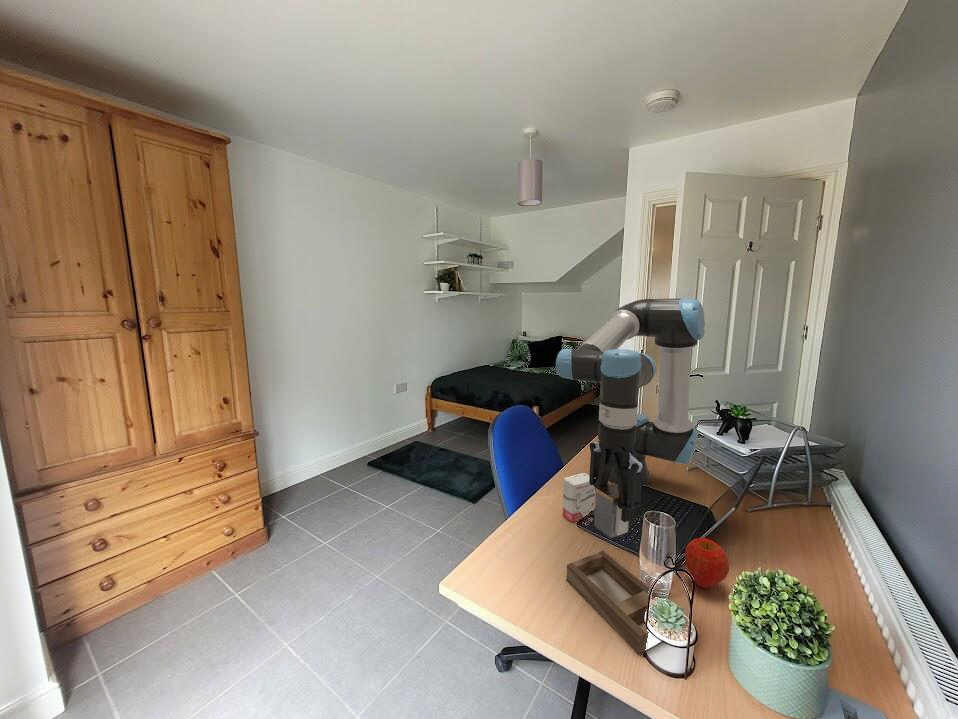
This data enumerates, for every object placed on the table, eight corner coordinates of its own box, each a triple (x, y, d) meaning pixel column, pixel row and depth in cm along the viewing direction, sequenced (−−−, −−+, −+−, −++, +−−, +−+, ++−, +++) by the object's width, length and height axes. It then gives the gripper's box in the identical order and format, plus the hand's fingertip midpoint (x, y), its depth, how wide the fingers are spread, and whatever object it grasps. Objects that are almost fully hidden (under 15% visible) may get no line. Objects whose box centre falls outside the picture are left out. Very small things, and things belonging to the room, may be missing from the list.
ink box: (572, 523, 111) (573, 485, 109) (561, 514, 115) (562, 478, 113) (594, 515, 115) (596, 478, 113) (583, 507, 119) (585, 472, 117)
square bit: (611, 519, 87) (613, 482, 86) (628, 532, 83) (631, 493, 81) (593, 525, 85) (595, 487, 84) (610, 538, 80) (613, 498, 79)
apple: (735, 595, 84) (740, 551, 82) (703, 604, 82) (708, 558, 80) (703, 569, 92) (707, 528, 90) (674, 575, 90) (677, 534, 88)
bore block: (602, 565, 94) (603, 550, 93) (679, 632, 75) (681, 614, 74) (566, 580, 89) (566, 564, 88) (639, 655, 70) (640, 636, 70)
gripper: (574, 414, 86) (571, 509, 90) (638, 440, 70) (631, 555, 74) (600, 410, 90) (595, 502, 93) (667, 434, 74) (658, 544, 77)
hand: (611, 525), depth 84 cm, fingers closed on square bit, 5 cm apart
